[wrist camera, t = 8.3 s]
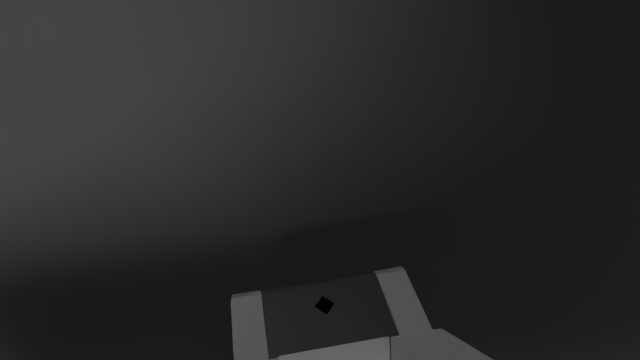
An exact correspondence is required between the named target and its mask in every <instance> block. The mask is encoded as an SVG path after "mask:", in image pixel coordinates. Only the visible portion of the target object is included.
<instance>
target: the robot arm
mask: <svg viewBox="0 0 640 360" xmlns="http://www.w3.org/2000/svg"><path fill="white" fill-rule="evenodd" d="M262 297H263V298H262ZM231 316H232V337H233V357H234V360H493V359H492V358H490V357H488V356H487V355H485V354H483V353H482V352H480V351H478V350H477V349H475V348H473V347H472V346H470V345H468V344H467V343H465V342H463V341H462V340H460V339H458V338H457V337H455V336H453V335H452V334H450V333H448V332H447V331H445V330H443V329H442V328H440V329H434V330H433V329H432V326H431V324H430V322H429V320H428V318H427V316H426V314H425V312H424V309H423V307H422V305H421V303H420V301H419V299H418V297H417V294H416V292H415V290H414V288H413V286H412V284H411V282H410V280H409V277H408V275H407V273H406V271H405V269H404V268H402V267H401V266H399V267H394V268H389V269H384V270H378V271H374V272H373V273H372V272H371V273H366V274H360V275H354V276H348V277H342V278H337V279H331V280H325V281H319V282H312V283H305V284H298V285H291V286H284V287H277V288H270V289H263V290H262V293H261V291H260V290H259V291H252V292H246V293H239V294H232V297H231Z"/></svg>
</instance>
